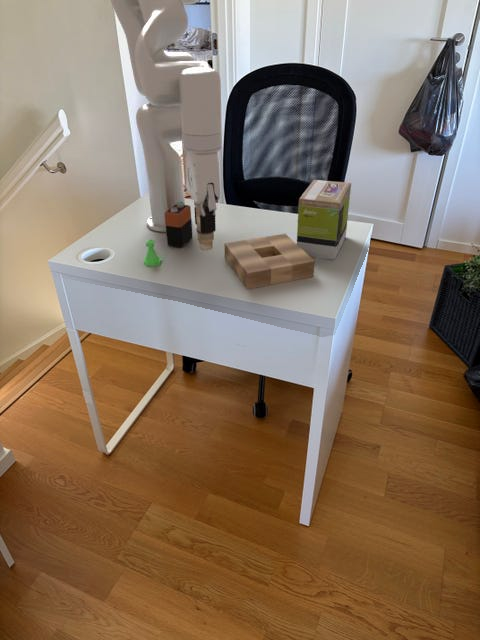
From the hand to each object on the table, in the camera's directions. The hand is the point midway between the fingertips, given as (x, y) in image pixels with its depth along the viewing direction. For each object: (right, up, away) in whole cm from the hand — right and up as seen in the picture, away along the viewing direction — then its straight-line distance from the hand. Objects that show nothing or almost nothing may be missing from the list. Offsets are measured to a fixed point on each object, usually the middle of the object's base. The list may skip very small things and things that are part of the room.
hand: (205, 227), depth 101 cm
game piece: (-14, -6, +11) cm, 19 cm away
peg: (0, -4, +3) cm, 5 cm away
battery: (-8, 0, +21) cm, 22 cm away
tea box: (+29, -1, +18) cm, 34 cm away
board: (+14, -8, +9) cm, 18 cm away
